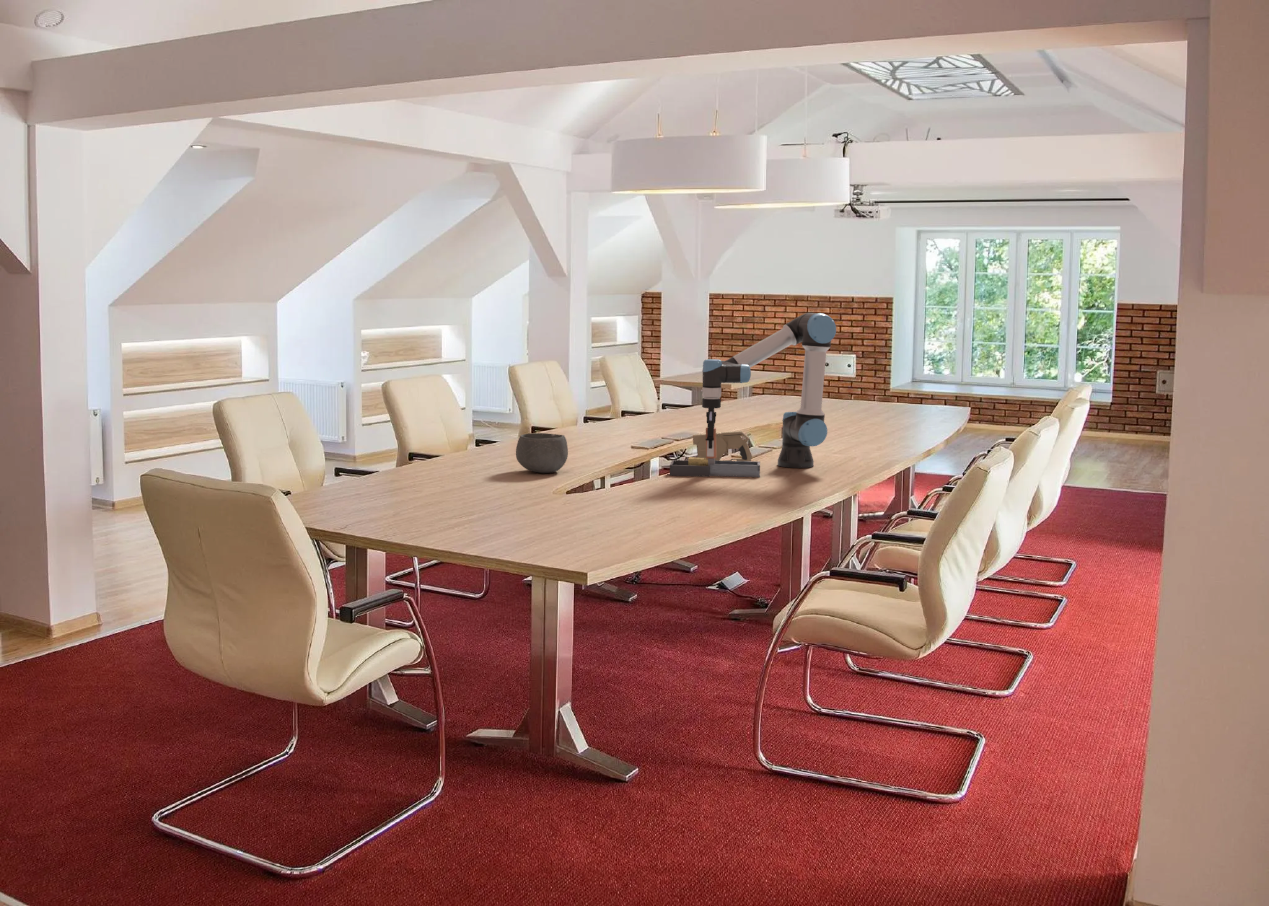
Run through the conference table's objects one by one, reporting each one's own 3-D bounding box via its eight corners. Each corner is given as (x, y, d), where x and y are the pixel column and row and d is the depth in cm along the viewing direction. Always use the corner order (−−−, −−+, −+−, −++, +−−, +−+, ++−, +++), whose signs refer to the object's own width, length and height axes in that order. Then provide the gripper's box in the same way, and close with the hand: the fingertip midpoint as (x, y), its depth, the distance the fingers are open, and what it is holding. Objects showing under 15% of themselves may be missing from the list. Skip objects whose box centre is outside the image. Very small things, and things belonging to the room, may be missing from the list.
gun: (752, 465, 516) (750, 430, 514) (752, 466, 513) (750, 431, 511) (695, 468, 519) (692, 434, 517) (695, 470, 516) (692, 435, 514)
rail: (759, 472, 497) (760, 461, 496) (759, 477, 486) (760, 465, 486) (710, 471, 499) (711, 460, 498) (709, 475, 489) (709, 464, 488)
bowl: (506, 473, 490) (506, 436, 487) (532, 466, 508) (532, 430, 506) (552, 477, 481) (552, 440, 479) (577, 470, 500) (577, 434, 498)
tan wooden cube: (698, 467, 496) (698, 457, 496) (698, 468, 492) (698, 458, 492) (688, 466, 497) (688, 457, 496) (688, 468, 493) (688, 458, 492)
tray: (711, 470, 501) (711, 460, 500) (709, 476, 487) (709, 466, 486) (672, 470, 502) (672, 459, 502) (669, 475, 488) (669, 465, 488)
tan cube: (708, 467, 495) (708, 458, 494) (707, 469, 491) (708, 459, 490) (698, 467, 495) (698, 457, 495) (698, 469, 491) (698, 459, 491)
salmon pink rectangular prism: (716, 464, 496) (716, 427, 494) (716, 467, 489) (715, 429, 487) (707, 464, 497) (706, 427, 495) (706, 467, 490) (705, 429, 488)
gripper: (703, 395, 498) (702, 452, 501) (701, 399, 481) (700, 458, 484) (721, 396, 497) (720, 452, 501) (720, 400, 480) (719, 458, 484)
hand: (710, 455), depth 493 cm, fingers closed on salmon pink rectangular prism, 4 cm apart
